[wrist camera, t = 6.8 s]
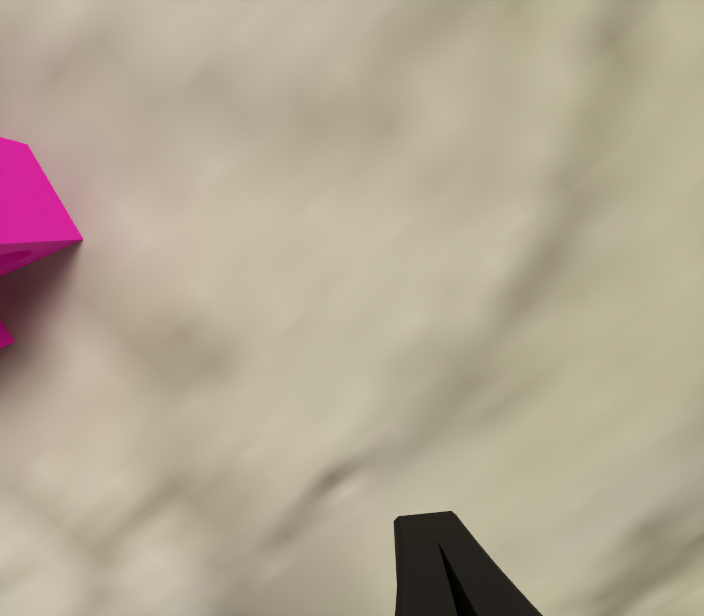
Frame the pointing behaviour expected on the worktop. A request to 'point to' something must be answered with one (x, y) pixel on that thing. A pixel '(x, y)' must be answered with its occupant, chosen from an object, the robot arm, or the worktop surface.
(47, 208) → the toy block
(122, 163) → the worktop surface
